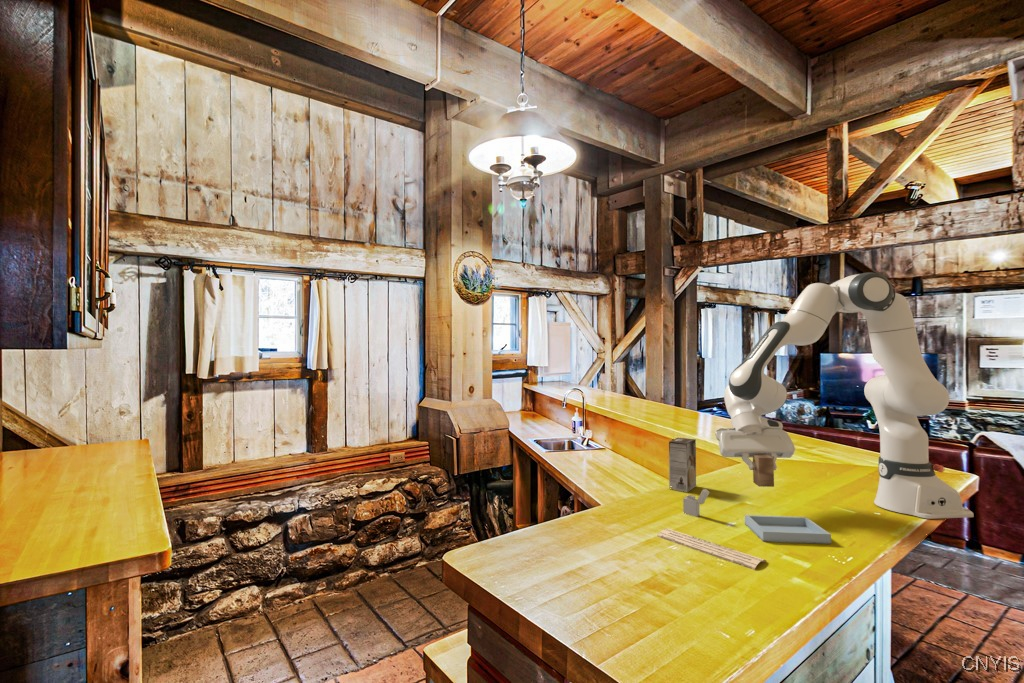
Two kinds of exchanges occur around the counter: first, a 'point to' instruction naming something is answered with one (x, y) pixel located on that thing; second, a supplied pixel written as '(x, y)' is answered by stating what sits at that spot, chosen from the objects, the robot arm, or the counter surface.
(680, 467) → the coffee box
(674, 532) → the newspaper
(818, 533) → the slate tray
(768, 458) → the walnut block
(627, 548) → the counter surface
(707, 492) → the lighter
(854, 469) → the counter surface
